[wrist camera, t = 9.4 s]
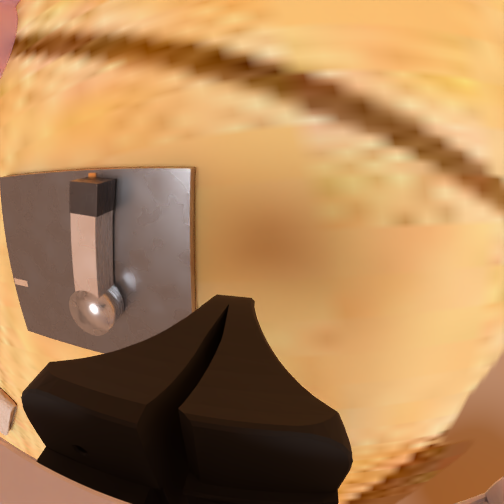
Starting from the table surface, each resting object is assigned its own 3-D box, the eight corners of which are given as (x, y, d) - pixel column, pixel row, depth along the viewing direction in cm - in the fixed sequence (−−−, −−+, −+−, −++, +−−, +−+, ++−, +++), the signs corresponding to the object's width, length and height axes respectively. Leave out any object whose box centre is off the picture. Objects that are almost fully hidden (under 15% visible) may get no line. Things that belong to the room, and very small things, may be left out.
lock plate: (198, 363, 23) (195, 372, 22) (33, 325, 25) (27, 330, 24) (195, 167, 18) (190, 168, 17) (7, 175, 20) (-2, 177, 19)
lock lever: (125, 325, 21) (112, 341, 19) (87, 313, 22) (72, 327, 19) (125, 180, 18) (107, 184, 16) (81, 175, 18) (61, 180, 16)
